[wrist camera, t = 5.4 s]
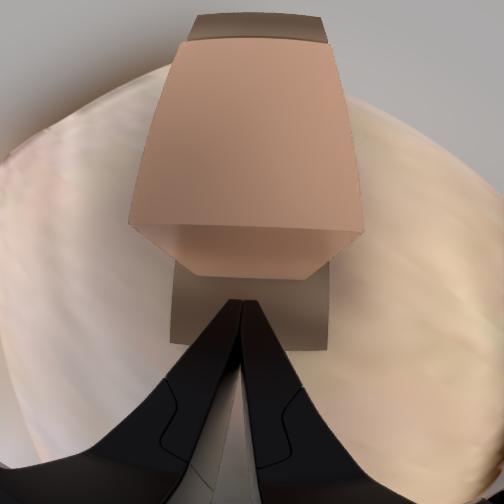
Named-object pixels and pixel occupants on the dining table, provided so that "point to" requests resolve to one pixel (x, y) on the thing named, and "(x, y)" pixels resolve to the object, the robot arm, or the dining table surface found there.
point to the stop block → (264, 290)
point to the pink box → (250, 161)
